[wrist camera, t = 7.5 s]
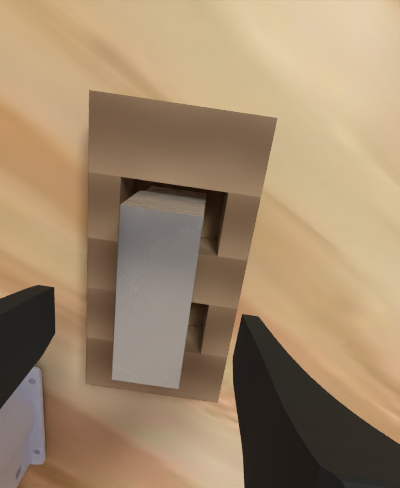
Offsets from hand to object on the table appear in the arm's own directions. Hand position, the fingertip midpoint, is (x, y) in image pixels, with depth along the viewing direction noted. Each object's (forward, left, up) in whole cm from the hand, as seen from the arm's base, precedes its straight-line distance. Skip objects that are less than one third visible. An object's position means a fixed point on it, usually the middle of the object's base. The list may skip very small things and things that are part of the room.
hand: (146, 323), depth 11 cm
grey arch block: (0, 0, -7) cm, 7 cm away
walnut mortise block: (0, 0, -7) cm, 7 cm away
